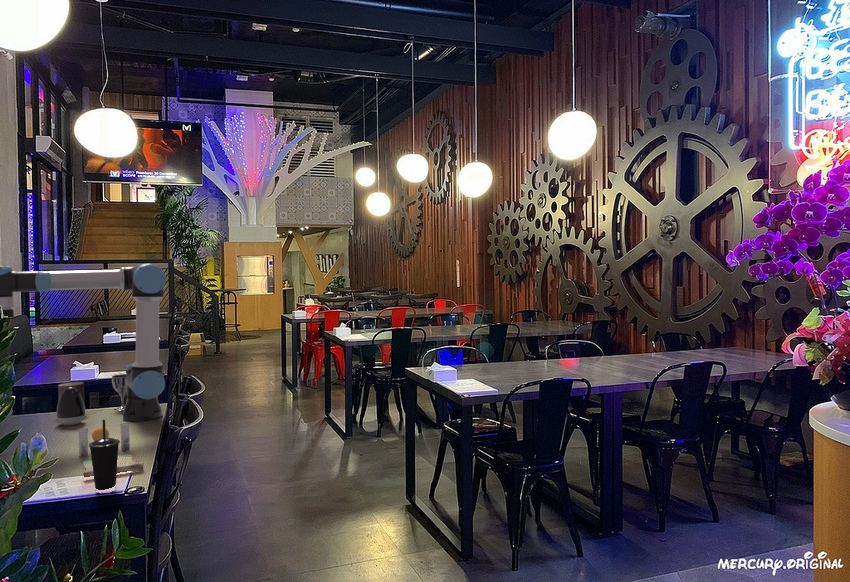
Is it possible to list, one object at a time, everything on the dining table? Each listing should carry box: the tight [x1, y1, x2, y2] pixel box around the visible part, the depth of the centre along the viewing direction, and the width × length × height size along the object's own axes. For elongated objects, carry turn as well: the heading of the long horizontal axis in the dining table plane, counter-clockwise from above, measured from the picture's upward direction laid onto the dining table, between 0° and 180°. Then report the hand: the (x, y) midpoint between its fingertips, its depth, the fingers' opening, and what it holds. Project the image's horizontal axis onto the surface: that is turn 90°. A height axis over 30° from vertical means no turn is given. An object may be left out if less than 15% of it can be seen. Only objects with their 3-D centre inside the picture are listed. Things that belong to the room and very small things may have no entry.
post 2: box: [120, 422, 131, 452], centre depth 212 cm, size 3×3×9 cm
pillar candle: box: [57, 380, 86, 408], centre depth 266 cm, size 10×10×15 cm
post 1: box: [78, 427, 89, 458], centre depth 205 cm, size 3×3×9 cm
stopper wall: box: [82, 461, 144, 477], centre depth 185 cm, size 16×2×2 cm, turn 122°
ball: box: [91, 426, 110, 442], centre depth 222 cm, size 6×6×6 cm
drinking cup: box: [88, 419, 121, 490], centre depth 171 cm, size 8×8×20 cm
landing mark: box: [82, 453, 132, 467], centre depth 197 cm, size 14×14×1 cm
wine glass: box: [111, 373, 127, 409], centre depth 278 cm, size 8×8×15 cm
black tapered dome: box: [56, 387, 86, 426], centre depth 250 cm, size 10×10×15 cm
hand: (3, 367), depth 223 cm, fingers open, 13 cm apart
